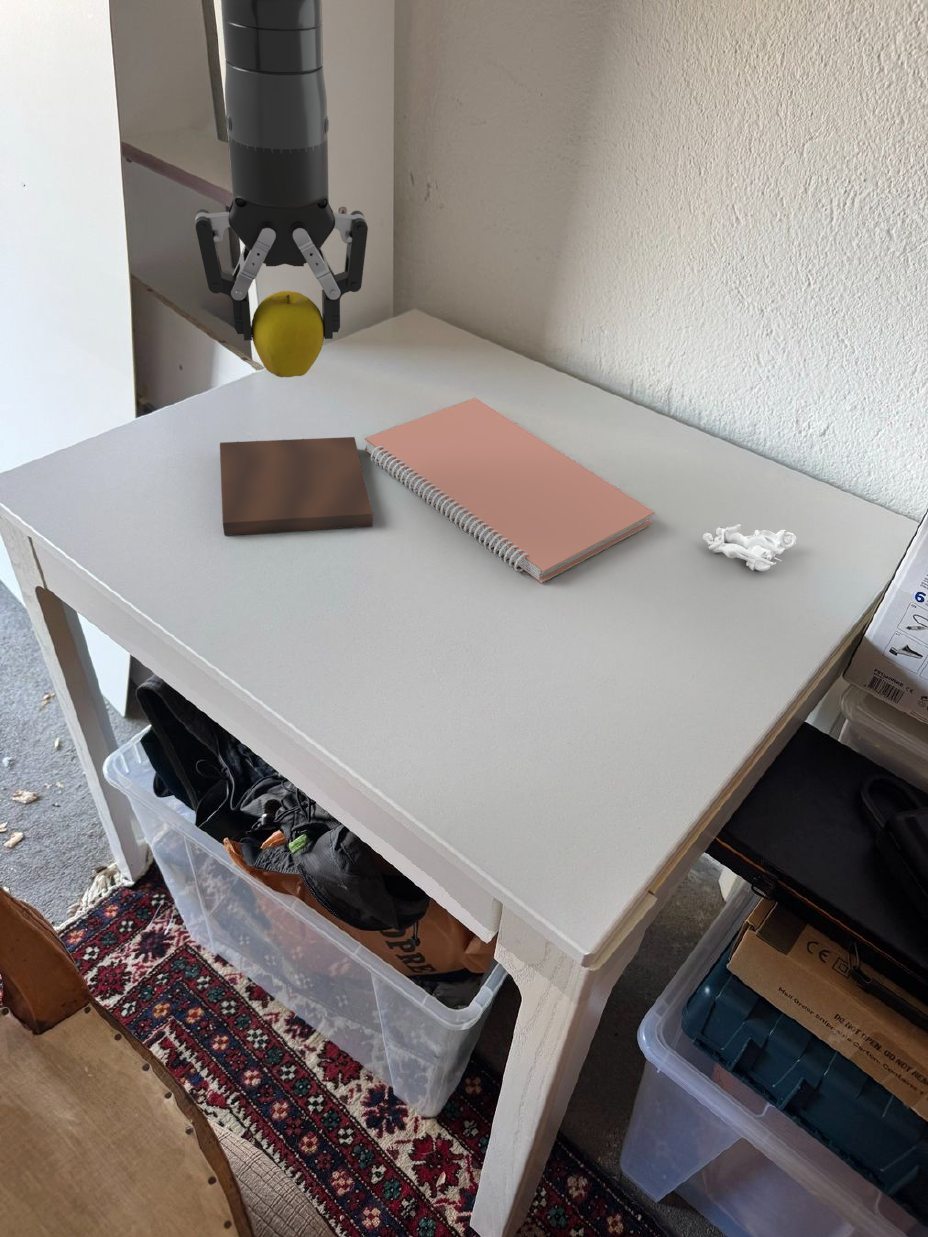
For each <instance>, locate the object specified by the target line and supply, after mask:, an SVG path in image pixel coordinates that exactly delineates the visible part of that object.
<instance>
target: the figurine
mask: <svg viewBox="0 0 928 1237" xmlns="http://www.w3.org/2000/svg"><path fill="white" fill-rule="evenodd" d="M741 527H742V524H740V523H738V524H736V525H735V526H727V527H724V526H721V525H720V526H718V527H717V528H716V529H715V535H716V537H713V535H712V533H710V532H706V533H704V534H703V535H702V539H703V540H704V542H705V543H706V544H707V545H708V548H707V549H709V550H710V551H711V552H712V553H713V554H717V553H723V554H724V555H725V556H726V558H729V559H735V558H738V559H741V560H744V561H746V563H745V564H746V567H748V568H749V569H750V570H751V571H752V572H753V571H755V570H756V571H758V572H759V571H760V572H765V571H768V570H769V569H770V568H771V567H772V566H775V565H776V564H777V561H778V562H783V561H782V559H779V558H777V557H775V556H776V555H781V554H783V553H784V551H785V550H789V549H792V548H793V547H794V546H795V545H796V543H797V537H796V535H795V534H794V533H793V532H791V531H787V530H786V529H781V530H779V531H778V532H777V533H775V532H773V531H770V530H767V529H766V530H764V529H763V530H759V529H755V530H754V533H753V534H752V535H743V534H742V533H740V532H738V530H739V529H740V528H741ZM772 559H774V560H775V562H773V561H771V560H772ZM776 560H777V561H776Z"/></svg>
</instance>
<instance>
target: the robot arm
mask: <svg viewBox="0 0 928 1237" xmlns="http://www.w3.org/2000/svg"><path fill="white" fill-rule="evenodd" d="M322 4H323V3H322V0H220V9H221V10H220V11H221V21H222V33H223V34H222V35H223V46H224V47H223V48H224V58H225V59H224V60H225V62H224V63H225V76H224V103H225V120H224V121H225V127H226V131H227V139H228V142H227V143H228V154H229V165H230V179H231V188H232V189H231V192H232V201H231V204H230V207H229V209H228V211H221V212H220V211H219V212H210V211H208V210H207V209H203V208H202V209H198V210H197V211H196V212H195V219H194V220H195V222H194V223H195V232H196V238H197V241H198V246H199V250H200V255H201V260H202V264H203V268H204V273H205V278H206V283H207V288H208V290H209V291H210V292H211V293H213V294H224V295H227V296H228V297H229V298H230V300H231V302H232V311H233V323H234V324H233V325H234V330H235V333H236V334H237V335H243V341H245V342H247V341H250V342H253V339H252V331H251V325H252V320H251V319H252V318H251V307H250V295H249V290H250V287H251V286H252V283H253V281H254V280H255V279H256V278H257V276H258V274H259V272H260V270H261V268H262V265H263V264H265V267H277V266H278V267H279V266H283V265H288V266H292V267H305V264H307V265H308V266H309V269H310V270H311V271H312V273H313V276H314V277H315V279H317V281H318V283H319V284H320V286H321V288H322V289H321V316H322V319H323V325H324V340H332V339H334V333H339V331H340V328H341V298H342V296H343V295H345V294H347V293H350V292H351V293H357V292H359V291H360V290H361V288H362V285H363V284H362V283H363V277H364V276H363V275H364V267H365V257H366V248H367V239H368V232H369V227H368V224H367V220H366V218H365V216H364V213H363V212H362V211H360V210H353V211H352V212H351V213H350V214H347V213H340V212H339V213H338V212H334V210H333V208H332V206H331V205H330V199H329V144H328V143H329V142H328V141H329V140H328V138H329V137H328V132H329V129H330V127H329V126H330V121H329V116H328V100H327V99H328V98H327V89H326V83H325V76H324V75H325V74H324V65H323V64H324V50H323V49H324V48H323V47H324V46H323V45H324V44H323V42H324V41H323V40H324V39H323V5H322ZM228 228H230V229H231V230H232V231H233V233H234V234H235V235H236V236H237V237H238V239H239V240H240V241H241V242H242V244H243V245H244V246H243V249H242V251H241V253H240V255H239V257H238V258H239V259H238V262H237V265H236V267H235V269H234V271H233V272H232V274H231V273H227V272H225V271H223V270H222V264H221V260H220V254H219V250H218V249H219V248H218V245H217V244H220V243H221V242H223V241H224V238H225V231H226V230H227V229H228ZM334 229H336V230H338V232H339V236H340V238H341V241H342V242H343V243H344V244H346V251H345V261H344V268H343V269H344V270H343V271H341V272H338V273H336V274H335V273H334V271H333V269H332V267H331V265H330V264H329V262H328V260H327V257H326V255H325V253H324V251H323V250H322V246H323V245H324V244H325V242H326V241H327V239H328V238H329V237H330V235H331V234H332V232H333V231H334Z"/></svg>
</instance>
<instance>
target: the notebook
mask: <svg viewBox="0 0 928 1237" xmlns="http://www.w3.org/2000/svg"><path fill="white" fill-rule="evenodd" d="M364 440H365V441H366V447H364V451H365V452H367V453H368V454H369V455H370V460H371V462H372V463H373V464H375V466H376V467H379V468H380V469H381V470H382V471H384V472H385V473H387V474H388V475H389V476H390V477H392V478H393V479H394V480H396V481H397V482H398V483H399V484H401V485H402V486H404V487H405V488H406V489H407V490H409V491H410V492H411V493H413V494H414V495H415V496H416V497H418V498H419V499H420V500H422V501H423V502H424V503H427V504H428V506H430V507H432V509H434V510H436V511H437V512H438V513H439V514H441V515H442V516H443V517H445V518H446V519H447V520H449V521H450V522H451V523H452V524H454V525H455V526H456V527H458V528H460V530H461V531H463V532H465V534H467V535H469V536H470V537H471V538H472V539H474V541H476V542H478V543H479V544H480V545H481V546H483V547H484V548H485V549H487V550H489V552H490V553H493V554H494V556H495V557H498V558H499V559H500V561H501V560H502V561H504V563H505V564H507V565H509V568H511V569H514V571H515V572H517V573H521V572H523V571H525V572H526V573H528V574H529V575H530V576H531V577H533V578H534V579H535V580H537V581H538V582H540V584H543V583H545V582H546V581H549V580H550V579H552V578H554V577H556V576H558V575H560V574H561V573H563V572H565V571H567V570H569V569H571V568H573V567H575V566H576V565H578V564H580V563H582V562H584V561H586V560H588V559H589V558H591V557H593V556H595V555H597V554H598V553H601V552H602V551H604V550H607V549H609V548H610V547H612V546H614V545H616V544H617V543H620V542H622V541H624V540H625V539H627V538H629V537H630V536H632V535H634V534H636V533H638V532H640V531H641V530H642V531H643V529H646V528H648V527H649V526H651V525H653V522H652V521H651V520H649V518H650V517H652V516H653V515H655V514H656V511H655V510H653V509H651V508H649V507H648V506H646V505H645V504H643V503H641V502H640V501H639V500H637V499H635V498H634V497H632V496H630V494H628V493H626V492H624V491H623V490H621V489H619V488H618V487H616V486H615V485H614V484H612V483H610V482H609V481H607V480H606V479H604V478H603V477H601V476H599V475H598V474H596V473H595V472H593V471H591V470H590V469H588V468H587V467H585V466H583V465H582V464H580V463H579V462H578V461H576V460H574V459H573V458H571V457H570V456H568V455H566V454H565V453H563V452H562V451H560V450H558V449H557V448H555V446H552V445H550V444H549V443H548V442H546V441H544V440H543V439H541V438H540V437H538V436H536V434H533V433H532V432H530V431H529V430H527V429H526V428H524V427H522V426H521V425H519V424H517V423H516V422H515V421H513V420H511V419H510V418H508V417H507V416H505V415H504V414H502V413H500V412H499V411H497V410H496V409H494V408H493V407H491V406H490V405H488V404H487V403H485V402H483V401H481V400H480V399H479V398H477V397H472V398H469V399H466V400H463V401H461V402H458V403H455V404H452V405H450V406H447V407H445V408H442V409H439V410H436V411H434V412H431V413H428V414H425V415H423V416H420V417H417V418H414V419H412V420H409V421H406V422H403V423H400V424H398V425H396V426H393V427H390V428H387V429H384V430H382V431H379V432H376V433H374V434H371V435H368V436H366V437H364ZM453 520H454V521H453ZM472 534H473V535H472ZM482 541H483V542H482ZM487 545H488V546H487ZM492 549H493V550H492ZM497 552H498V554H497ZM502 556H503V557H502ZM507 560H509V561H507ZM513 563H514V565H513ZM518 567H519V568H520V569H518Z"/></svg>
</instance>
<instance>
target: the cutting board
mask: <svg viewBox="0 0 928 1237" xmlns="http://www.w3.org/2000/svg"><path fill="white" fill-rule="evenodd" d="M219 461H220V463H219V464H220V486H221V488H220V489H221V513H222V526H223V527H222V529H223V535H224V536H239V535H253V534H271V533H285V532H301V531H318V530H334V529H351V528H364V527H365V528H366V527H373V517H374V515H373V510H372V506H371V501H370V497H369V493H368V489H367V484H366V480H365V475H364V471H363V467H362V464H361V463H362V462H361V459H360V454H359V450H358V446H357V442H356V437H355V436H348V437H347V436H346V437H345V436H344V437H323V438H322V437H321V438H299V439H298V438H297V439H274V440H272V439H271V440H250V441H248V440H247V441H227V442H226V441H225V442H223V441H221V442H219Z"/></svg>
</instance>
